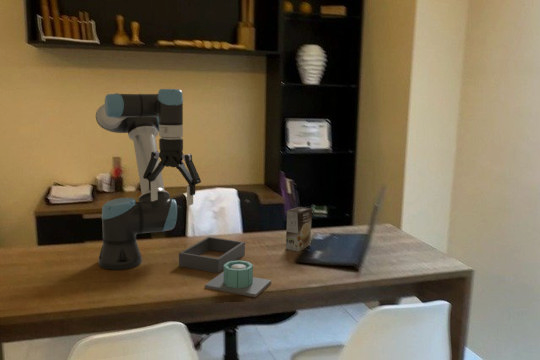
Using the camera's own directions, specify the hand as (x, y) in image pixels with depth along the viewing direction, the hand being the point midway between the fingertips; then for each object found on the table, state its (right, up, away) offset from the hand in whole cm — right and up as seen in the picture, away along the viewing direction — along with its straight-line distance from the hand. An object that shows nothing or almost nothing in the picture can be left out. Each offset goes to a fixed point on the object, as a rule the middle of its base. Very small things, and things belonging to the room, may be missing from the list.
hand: (171, 202), depth 174 cm
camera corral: (+11, -23, +25) cm, 35 cm away
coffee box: (+43, -20, +42) cm, 64 cm away
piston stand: (+22, -27, +2) cm, 35 cm away
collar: (+22, -26, +1) cm, 34 cm away
